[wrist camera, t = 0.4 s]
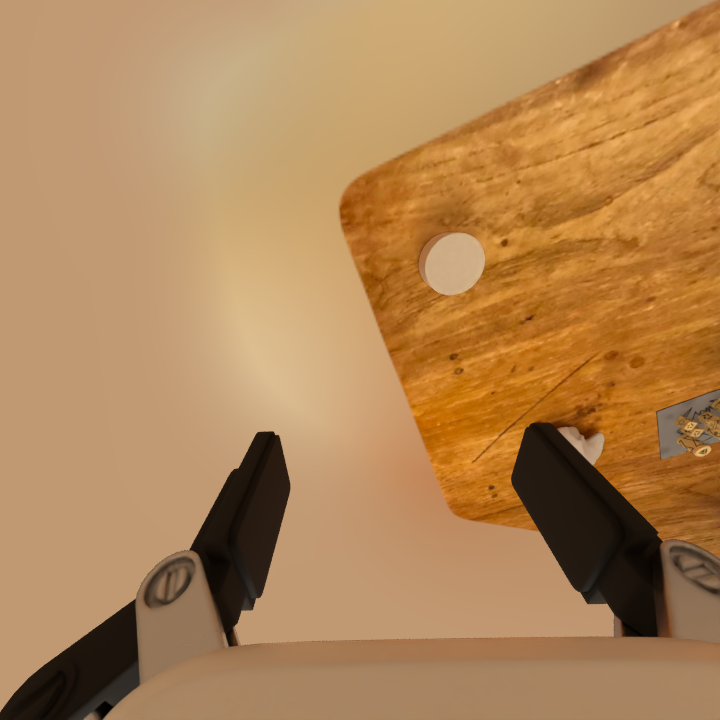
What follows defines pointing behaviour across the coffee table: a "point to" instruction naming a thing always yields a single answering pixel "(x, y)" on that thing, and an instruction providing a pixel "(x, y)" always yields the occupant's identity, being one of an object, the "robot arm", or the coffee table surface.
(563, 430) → the arrowhead
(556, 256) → the coffee table surface
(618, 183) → the coffee table surface
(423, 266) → the cylinder
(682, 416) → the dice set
